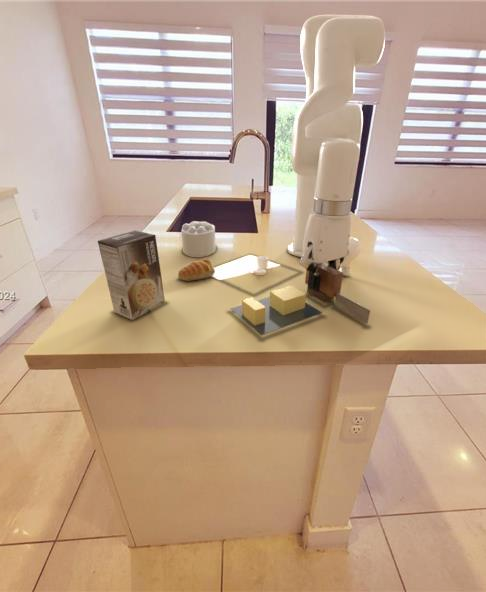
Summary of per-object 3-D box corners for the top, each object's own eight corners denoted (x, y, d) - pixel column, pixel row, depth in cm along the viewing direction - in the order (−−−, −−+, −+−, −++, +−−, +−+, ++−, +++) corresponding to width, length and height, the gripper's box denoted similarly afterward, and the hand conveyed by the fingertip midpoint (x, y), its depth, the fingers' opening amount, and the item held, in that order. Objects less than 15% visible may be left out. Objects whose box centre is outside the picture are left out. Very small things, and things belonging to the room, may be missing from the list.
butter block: (290, 298, 72) (291, 285, 71) (304, 308, 69) (306, 293, 67) (269, 305, 69) (270, 291, 68) (283, 315, 66) (284, 300, 64)
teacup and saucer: (261, 280, 83) (262, 266, 81) (240, 271, 88) (240, 258, 86) (282, 271, 89) (283, 257, 87) (261, 263, 94) (261, 250, 92)
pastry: (186, 285, 80) (183, 271, 78) (174, 276, 84) (172, 263, 82) (217, 274, 85) (216, 261, 83) (204, 267, 89) (203, 254, 87)
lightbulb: (359, 275, 88) (367, 237, 83) (348, 282, 84) (355, 242, 78) (339, 269, 92) (345, 232, 86) (327, 275, 87) (333, 236, 82)
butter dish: (287, 294, 76) (287, 291, 76) (322, 316, 68) (322, 312, 67) (230, 312, 68) (230, 308, 68) (261, 339, 60) (261, 335, 59)
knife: (311, 291, 78) (314, 259, 74) (370, 325, 65) (378, 288, 61) (303, 293, 77) (307, 261, 73) (362, 328, 64) (370, 291, 60)
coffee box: (146, 295, 74) (136, 229, 67) (166, 303, 71) (157, 234, 64) (112, 312, 67) (96, 240, 60) (132, 321, 64) (118, 246, 57)
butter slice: (251, 311, 67) (252, 297, 65) (265, 322, 63) (265, 307, 62) (241, 314, 66) (241, 299, 64) (254, 325, 62) (255, 310, 60)
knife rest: (315, 293, 77) (316, 282, 76) (333, 303, 73) (335, 291, 72) (306, 296, 76) (307, 285, 74) (324, 306, 71) (325, 294, 70)
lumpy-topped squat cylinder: (216, 244, 109) (215, 219, 105) (213, 257, 98) (212, 230, 93) (186, 243, 109) (184, 218, 105) (179, 257, 97) (177, 229, 93)
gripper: (346, 200, 71) (335, 274, 80) (288, 207, 63) (282, 289, 71) (373, 206, 66) (358, 284, 74) (314, 215, 57) (304, 302, 66)
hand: (321, 286), depth 73 cm, fingers open, 4 cm apart
